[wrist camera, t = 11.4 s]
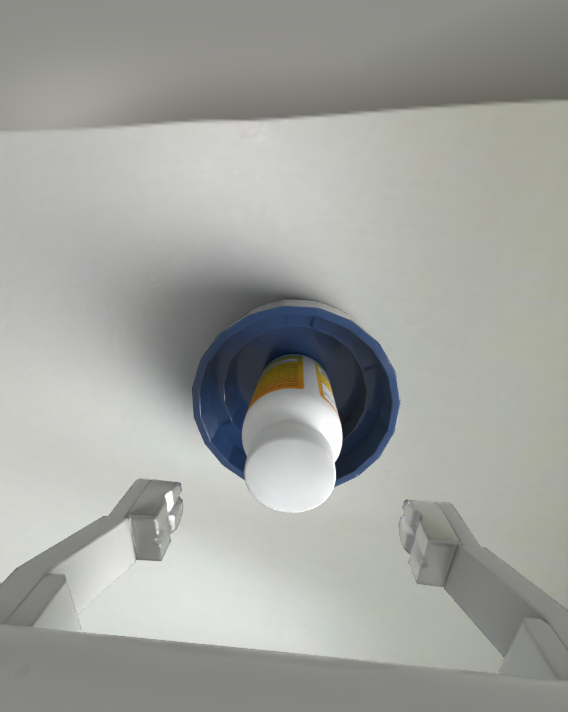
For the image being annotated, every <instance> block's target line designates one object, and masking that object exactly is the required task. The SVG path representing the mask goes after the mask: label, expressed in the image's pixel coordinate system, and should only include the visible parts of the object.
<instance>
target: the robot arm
mask: <svg viewBox="0 0 568 712" xmlns="http://www.w3.org/2000/svg"><path fill="white" fill-rule="evenodd" d="M181 491H182V489H181V483H179V482H172V481H162V480H149V479H138V480H136V481H135V482H134V483H133V485H132V486H131V487H130V489H129V490H128V491H127V492H126V494H125V495H124V496H123V498H122V499H121V500H120V501H119V503H118V504H117V505H116V507H115V508H114V509H113V510H112V512H111V513H110V514H109V516H103V517H101V518H99V519H98V520H96V521H94V522H93V523H91V524H89V525H88V526H86V527H84V528H83V529H81V530H79V531H78V532H76V533H74V534H73V535H71V536H69V537H68V538H66V539H64V540H63V541H61V542H59V543H58V544H56V545H54V546H53V547H51V548H49V549H48V550H46V551H44V552H43V553H41V554H39V555H38V556H36V557H34V558H33V559H31V560H29V561H28V562H26V563H24V564H23V565H21V566H19V567H18V568H16V569H15V570H14V571H13V572H12V573H11V574H10V575H9V576H8V577H7V578H6V579H5V581H4V582H3V583H2V584H1V585H0V712H568V610H567V609H566V608H564V607H563V606H562V605H560V604H559V603H558V602H556V601H555V600H554V599H552V598H551V597H550V596H548V595H547V594H546V593H545V592H543V591H542V590H541V589H539V588H538V587H537V586H535V585H534V584H533V583H531V582H530V581H529V580H527V579H526V578H525V577H524V576H522V575H521V574H520V573H518V572H517V571H516V570H514V569H513V568H512V567H510V566H509V565H508V564H506V563H505V562H504V561H503V560H501V559H500V558H499V557H497V556H496V555H495V554H493V553H492V552H491V551H489V550H488V549H487V548H485V547H480V545H479V544H478V542H477V541H476V539H475V538H474V536H473V534H472V533H471V531H470V530H469V528H468V527H467V525H466V524H465V522H464V521H463V519H462V518H461V516H460V515H459V513H458V512H457V510H456V509H455V507H454V506H453V505H452V504H451V503H450V502H433V501H419V500H405V502H404V504H403V510H404V513H405V514H404V515H403V516H402V517H400V521H399V535H400V539H401V543H402V546H403V548H404V549H405V550H406V551H407V552H408V553H409V554H410V558H409V564H410V567H411V570H412V572H413V575H414V578H415V580H416V583H417V584H423V585H431V586H439V587H444V589H445V590H446V591H447V592H448V594H449V595H450V596H451V597H452V598H453V599H454V601H455V602H456V603H457V604H458V605H459V606H460V607H461V609H462V610H463V611H464V612H465V613H466V614H467V615H468V617H469V618H470V619H471V620H472V621H473V622H474V623H475V625H476V626H477V627H478V628H479V629H480V630H481V631H482V633H483V634H484V635H485V636H486V637H487V638H488V639H489V641H490V642H491V643H492V644H493V645H494V646H495V647H496V649H497V650H498V651H499V652H500V653H501V654H502V655H503V657H504V659H503V661H502V663H501V665H500V667H499V669H498V672H497V673H488V672H478V671H468V670H458V669H448V668H438V667H428V666H418V665H408V664H398V663H388V662H378V661H368V660H358V659H348V658H338V657H328V656H318V655H308V654H298V653H288V652H278V651H267V650H257V649H247V648H237V647H227V646H217V645H207V644H197V643H187V642H177V641H166V640H156V639H146V638H136V637H126V636H116V635H106V634H96V633H86V632H82V628H81V625H80V622H79V619H78V614H79V613H80V612H81V611H82V610H84V609H85V608H86V607H87V606H88V605H89V604H90V603H91V602H92V601H93V600H94V599H96V598H97V597H98V596H99V595H100V594H101V593H102V592H103V591H104V590H105V589H106V588H107V587H109V586H110V585H111V584H112V583H113V582H114V581H115V580H116V579H117V578H118V577H119V576H121V575H122V574H123V573H124V572H125V571H126V570H127V569H128V568H129V567H130V566H131V565H133V564H134V563H135V562H136V560H151V561H162V559H163V557H164V555H165V553H166V550H167V548H168V546H169V544H170V542H171V539H170V534H171V533H172V532H174V531H175V530H176V529H177V527H178V525H179V523H180V520H181V516H182V512H183V500H182V499H181V498H180V497H179V495H180V493H181Z"/></svg>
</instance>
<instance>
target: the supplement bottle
mask: <svg viewBox="0 0 568 712" xmlns="http://www.w3.org/2000/svg"><path fill="white" fill-rule="evenodd" d="M242 443H243V448H244V451H245V453H246V455H247V459H246V463H245V468H244V477H245V482H246V485H247V487H248V489H249V491H250V492H251V494H252V495H253V496H254V497H255V498H256V499H257V500H258V501H259V502H260V503H262V504H263V505H265V506H267V507H269V508H271V509H274V510H277V511H281V512H289V513H293V512H302V511H307V510H310V509H312V508H315V507H316V506H318V505H320V504H321V503H323V502H324V501H325V500H326V499H327V498H328V496H329V495H330V494H331V492H332V490H333V488H334V485H335V481H336V469H335V461H336V460H337V458H338V456H339V453H340V450H341V447H342V428H341V423H340V419H339V415H338V412H337V408H336V405H335V401H334V397H333V393H332V389H331V386H330V382H329V379H328V376H327V374H326V372H325V370H324V369H323V368H322V366H321V365H320V364H319V363H317V362H316V361H315V360H313V359H311V358H309V357H307V356H304V355H298V354H290V355H284V356H281V357H278V358H276V359H275V360H273V361H272V362H270V363H269V364H268V365H267V366H266V368H265V369H264V370H263V372H262V374H261V376H260V379H259V381H258V384H257V387H256V389H255V392H254V395H253V397H252V400H251V402H250V405H249V408H248V411H247V413H246V416H245V419H244V423H243V428H242Z"/></svg>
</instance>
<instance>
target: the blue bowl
mask: <svg viewBox="0 0 568 712" xmlns="http://www.w3.org/2000/svg"><path fill="white" fill-rule="evenodd" d="M290 354H298V355H304V356H307V357H309V358H311V359H313V360H315V361H316V362H317V363H319V364H320V365H321V366H322V368H323V369H324V370H325V372H326V374H327V376H328V379H329V382H330V386H331V389H332V393H333V397H334V401H335V405H336V408H337V412H338V415H339V419H340V423H341V428H342V447H341V450H340V453H339V456H338V458H337V460H336V461H335V469H336V481H335V485H334V487H336V486H338V485H340V484H342V483H345V482H347V481H349V480H351V479H353V478H355V477H357V476H359V475H360V474H361V473H362V472H363V471H365V470H366V469H367V468H368V467H369V466H370V465H371V464H373V463H374V462H375V461H376V460H377V459H378V458H379V457H380V456H381V454H382V453H383V451H384V449H385V448H386V446H387V444H388V443H389V441H390V439H391V438H392V436H393V434H394V433H395V429H396V424H397V419H398V414H399V409H400V404H401V403H400V402H401V401H400V395H399V389H398V383H397V376H396V372H395V370H394V368H393V366H392V364H391V363H390V361H389V359H388V357H387V356H386V354H385V352H384V351H383V349H382V347H381V345H380V344H379V343H378V342H377V341H376V340H375V339H374V338H373V337H372V336H371V335H370V334H368V333H367V332H366V331H365V330H364V329H363V328H362V327H361V326H359V325H358V324H357V323H356V322H355V321H354V320H352V319H351V318H350V317H349V316H348V315H346V314H345V313H344V312H342V311H341V310H338V309H336V308H333V307H330V306H328V305H325V304H323V303H320V302H318V301H313V300H295V299H286V300H285V299H284V300H280V301H276V302H273V303H269V304H265V305H262V306H258V307H256V308H255V309H253V310H252V311H250V312H249V313H247V314H246V315H244V316H243V317H241V318H240V319H238V320H237V321H236V322H234V323H233V324H232V325H230V326H229V327H228V328H226V329H225V330H224V331H223V332H221V333H220V334H219V335H218V336H217V338H216V339H215V340H214V342H213V343H212V345H211V346H210V347H209V349H208V350H207V351H206V353H205V354H204V355H203V357H202V358H201V360H200V363H199V366H198V370H197V373H196V376H195V380H194V383H193V387H192V396H193V412H194V419H195V421H196V424H197V426H198V429H199V431H200V433H201V436H202V438H203V441H204V443H205V445H206V446H207V447H208V448H209V449H210V451H211V452H212V453H213V454H214V455H215V457H216V458H217V459H218V460H219V461H220V463H221V464H222V465H223V466H224V467H226V468H227V469H229V470H230V471H232V472H233V473H235V474H236V475H238V476H239V477H241V478H242V479H244V480H245V477H244V468H245V463H246V459H247V455H246V453H245V451H244V448H243V443H242V428H243V423H244V419H245V416H246V413H247V411H248V408H249V405H250V402H251V400H252V397H253V395H254V392H255V389H256V387H257V384H258V381H259V379H260V376H261V374H262V372H263V370H264V369H265V368H266V366H267V365H268V364H269V363H270V362H272V361H273V360H275V359H276V358H278V357H281V356H284V355H290Z"/></svg>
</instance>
